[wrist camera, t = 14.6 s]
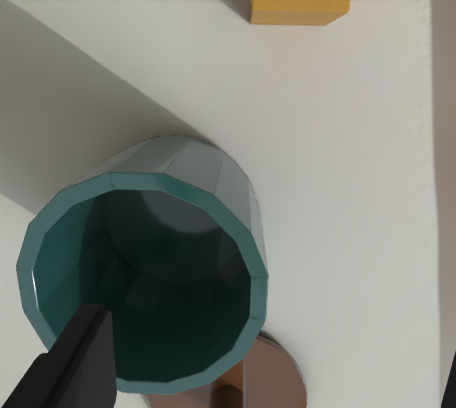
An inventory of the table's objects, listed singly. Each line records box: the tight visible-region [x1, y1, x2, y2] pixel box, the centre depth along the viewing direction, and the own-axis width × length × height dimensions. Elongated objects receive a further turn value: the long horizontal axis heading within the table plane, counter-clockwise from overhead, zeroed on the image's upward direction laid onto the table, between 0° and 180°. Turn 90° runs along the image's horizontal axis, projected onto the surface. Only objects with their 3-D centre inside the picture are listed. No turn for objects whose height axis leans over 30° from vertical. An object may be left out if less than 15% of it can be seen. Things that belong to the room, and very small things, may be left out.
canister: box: [16, 136, 269, 395], centre depth 23 cm, size 12×12×10 cm
